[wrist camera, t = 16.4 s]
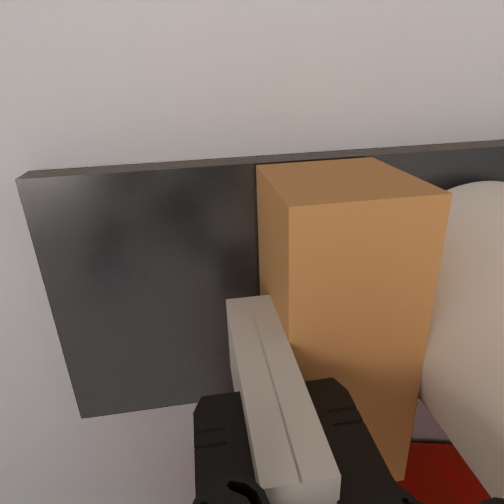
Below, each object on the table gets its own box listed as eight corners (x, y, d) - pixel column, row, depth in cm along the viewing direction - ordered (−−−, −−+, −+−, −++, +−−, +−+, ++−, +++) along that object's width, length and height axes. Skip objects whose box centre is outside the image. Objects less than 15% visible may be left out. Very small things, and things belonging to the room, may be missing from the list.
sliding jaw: (263, 398, 17) (288, 500, 13) (255, 165, 13) (288, 206, 9) (352, 385, 18) (403, 479, 14) (372, 157, 14) (452, 193, 10)
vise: (87, 397, 18) (44, 546, 12) (28, 171, 14) (-78, 239, 8) (608, 327, 21) (762, 420, 16) (685, 127, 17) (931, 155, 11)
